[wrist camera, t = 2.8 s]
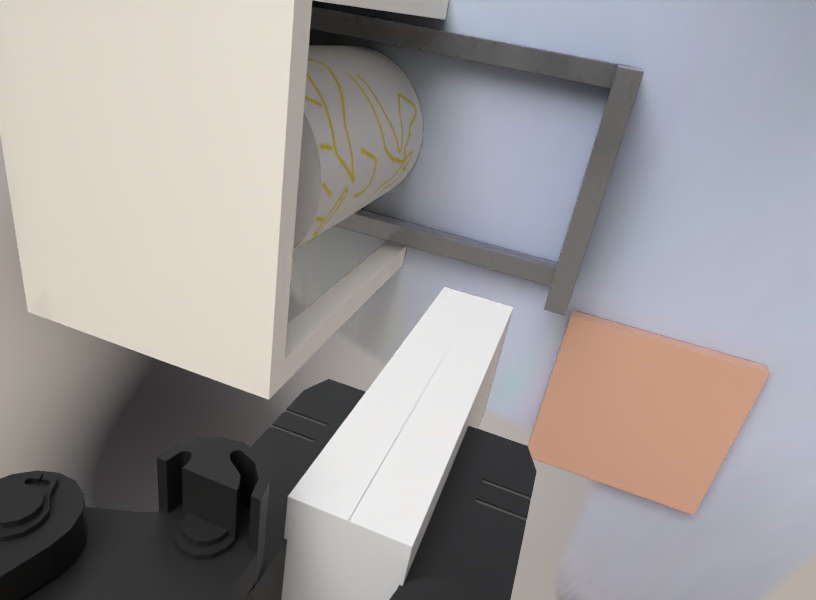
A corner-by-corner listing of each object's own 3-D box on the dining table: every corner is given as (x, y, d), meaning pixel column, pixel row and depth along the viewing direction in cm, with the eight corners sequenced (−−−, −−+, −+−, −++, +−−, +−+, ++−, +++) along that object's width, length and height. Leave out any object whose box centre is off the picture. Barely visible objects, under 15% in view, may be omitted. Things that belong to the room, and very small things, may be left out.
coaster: (526, 448, 36) (524, 456, 36) (572, 309, 32) (571, 315, 31) (692, 505, 34) (693, 515, 33) (766, 365, 30) (770, 373, 29)
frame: (260, 198, 35) (220, 215, 32) (270, -2, 30) (223, -9, 27) (571, 284, 31) (564, 315, 27) (640, 68, 26) (643, 72, 23)
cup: (421, 204, 32) (326, 280, 22) (292, 191, 35) (151, 254, 24) (425, 46, 29) (315, 47, 19) (282, 43, 31) (114, 42, 21)
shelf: (238, 217, 37) (27, 311, 24) (246, -44, 30) (-39, -110, 17) (403, 264, 34) (268, 399, 21) (450, -8, 28) (297, -55, 15)
